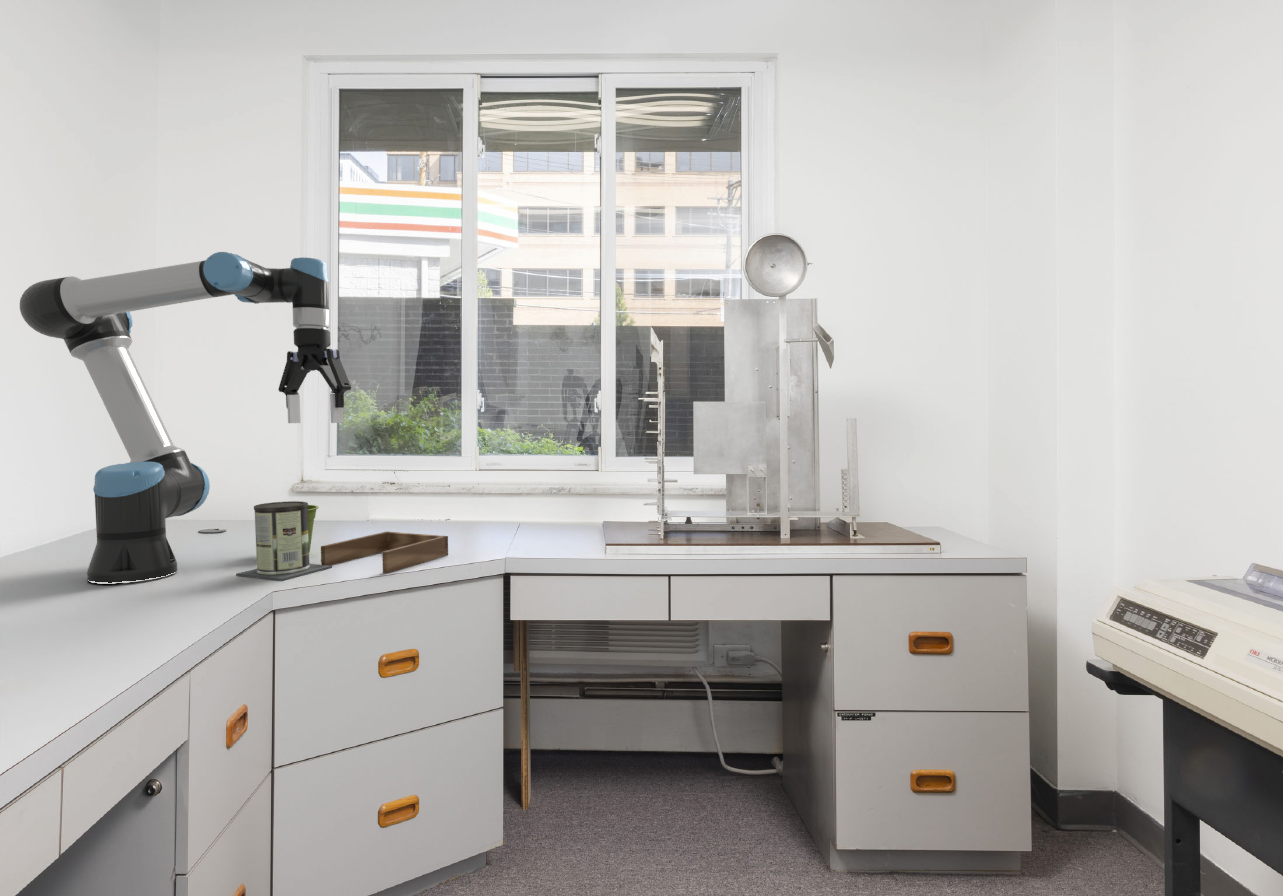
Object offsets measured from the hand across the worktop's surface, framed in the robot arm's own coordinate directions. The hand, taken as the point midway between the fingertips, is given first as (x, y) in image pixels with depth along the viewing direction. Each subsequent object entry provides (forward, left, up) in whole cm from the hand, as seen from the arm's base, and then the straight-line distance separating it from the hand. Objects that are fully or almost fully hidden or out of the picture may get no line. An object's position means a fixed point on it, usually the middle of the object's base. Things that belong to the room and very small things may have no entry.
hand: (315, 423), depth 160 cm
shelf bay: (+14, +6, -32) cm, 35 cm away
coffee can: (+2, -11, -31) cm, 33 cm away
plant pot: (-12, +3, -32) cm, 34 cm away
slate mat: (+2, -11, -32) cm, 33 cm away
